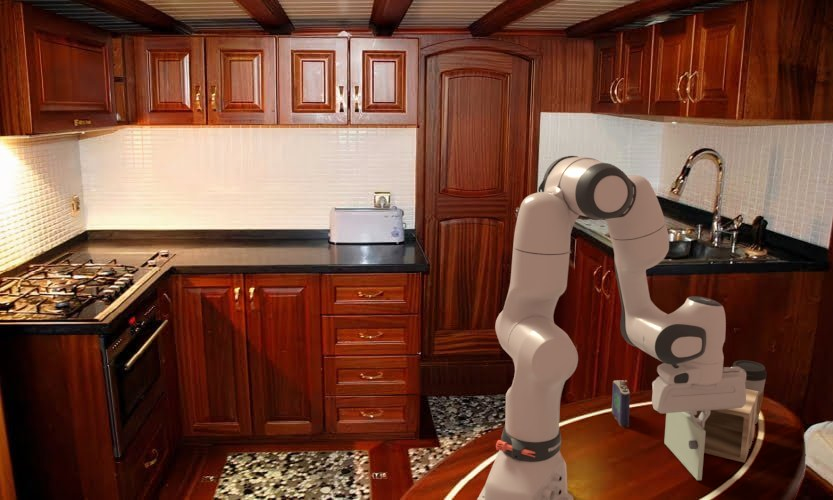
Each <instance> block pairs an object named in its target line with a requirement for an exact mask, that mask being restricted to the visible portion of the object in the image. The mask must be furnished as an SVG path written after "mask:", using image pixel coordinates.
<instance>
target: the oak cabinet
mask: <svg viewBox="0 0 833 500" xmlns="http://www.w3.org/2000/svg"><path fill="white" fill-rule="evenodd" d="M758 393H759V391H754V390H749V389H746V404H745V405H744V406H743V407H742V408H733V409H719V410H711V412H710V415H709V417H708V418H707V419H706V421H705V426H704V428H703V429H704V430H705V431H706V434H705V446H704V454H708V455H712V456H717V457H720V458H724V459H729V460H732V461H736V462H740V463H746V460H747V457H748V455H749V451H750V450H749V449H751V447H752V444H753V442H752V441H754V438H755V433H756V425H755V423H756V413H757V403H758ZM701 412H702V411H697V415H694V416H695V418H698V417H699V415H700V414H701ZM686 413H687V412H686ZM687 414H688V413H687ZM756 424H757V423H756Z"/></svg>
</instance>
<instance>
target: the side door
mask: <svg viewBox="0 0 833 500" xmlns="http://www.w3.org/2000/svg"><path fill="white" fill-rule="evenodd" d="M664 426H665V428H664V441H663V442H664V445H666V447H667V448H668V449H669V450H670V452H672V454H673V455H674V456H675V457H676V459H678V461H679V462H681V464H682V465H683V466H684V467H685V468H686V470H687V471H688V472H689V473H690V474H691V475H692V476H693V477H694V478H695V480H696V481H702V480H703V467H704V458H705V457H704V454H705V453H704V446H705V434H706V431H705V430H704V429H703V428H702V427H701V426H700V425H699V424H698V423H697V422H696V421H695V420H694V419H693V418H691V417H690V416H689V415H688V414H687V413H686V412H676V413H665V425H664Z"/></svg>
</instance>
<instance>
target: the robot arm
mask: <svg viewBox="0 0 833 500" xmlns="http://www.w3.org/2000/svg"><path fill="white" fill-rule="evenodd" d="M580 216H581V217H582V216H583V217H587V218H590V219H592V220H600V221H601V220H602V221H603V220H604V221H605V222H606V224H607V229H608V232H609V237H610V241H611V244H612V245H611V246H612V248H613V254H614V256H613V263H614V271H615V278H616V281H617V282H616V283H617V288H618V292H619V293H618V294H619V298H620V303H621V305H620V306H621V314H620V315H621V316H620V324H619V327H620V332H621V336H622V338H623V339H624V341H626V343H628V345H631V346H633V347H635V348H637V349H639V350H641V351H643V352H644V353H646V354H647V355H649V356H651V357H653V358H655V359H657V360H658V361H660V362H662V363H661V364H658V366H657V367H656V372H657V373H658V375H659V376H657V377H656V379H654V381H655V382H654V387H653V386H652V394H651V395H652V396H651V404H652V407H653V406H654V408H655V409H656V410H657V413H659V414H666V413H676V412H687V413H688V415H689V416H690V417H691V418H693V419H694V420H695V421H696V422H697V423H698V424H699V425H700V426H701V427H702V428H704V426H705V421H706V419H707V418H708V417H709V415H710V412H711V410H719V409H733V408H742V407H743V406H744V405H745V404H746V388H745V382H746V372H745V370H744V369H742V368H740V367H732V366H730V367H729V366H726V367H725V366H724V359H725V357H724V352H723V347H724V343H725V342H726V330H727V329H726V327H727V325H726V324H727V322H726V321H727V320H726V318H727V317H726V312H725V308H724V306H723V305H722V304H721V303H720V302H718V301H716V300H714V299H711V298H708V297H704V296H698V295H695V296H693V295H692V296H688V297H687V298H686V300H685V302H684V303H683V304H682V305H681V306H680V307H678V308H677V309H676V310H675V311H673V312H671V313H666V312H664V311H663V310H661V309H660V308H659V307H657V306H656V305H655V304H654V302H653V301H652V300H651V297H650V291H649V284H648V278H647V270H648V269H651V268H653V267H655V266H657V265H659V264H660V263H661V262H662V261H663V260H664V259H665V258H666V256H667V254H668V252H669V251H670V238H669V237H670V235H669V232H668V228H667V223H666V219H665V216H664V213H663V210H662V207H661V204H660V202H659V199H658V197H657V194H656V192H655V191H654V189H653V186H652V185H651V183H650V182H649V180H648V179H647V178H646V177H643V176H641V175H636V174H626V173H625V172H624V171H623V170H622V169H620V168H619V167H617V166H615V165H613V164H611V163H606V162H603V161H599V160H598V159H596V158H592V157H586V156H577V155H568V156H562V157H560V158H558V159H556V160H555V161H552V163H551V164H550V165H549V167H548V168H547V169H546V171H545V173H544V175H543V179H542V181H541V183H540V184H539V186H538V192H535V193H531V194H529V195H528V196H526V197H525V198H524V199H523V200H522V202H521V203H520V206H519V210H518V214H517V219H516V223H515V228H514V236H513V243H512V244H513V246H512V257H511V258H512V259H511V269H510V270H511V271H510V272H511V273H510V279H509V280H510V281H509V282H510V283H509V287H508V292H507V295H506V298H505V301H504V306H503V309H502V311H501V312H500V313H498V316H497V318H496V320H495V327H494V329H495V333H496V336H497V339H498V343H499V345H500V347H501V348H502V350H504V351H505V352H506V354H508V355H509V357H510V358H511V359H512V362H513V364H514V365H513V366H514V375H513V376H514V377H513V379H512V384H511V386H510V387H509V388H508V390H507V392H506V393H505V416H504V417H505V424H504V427H503V430H502V434H501V436H500V437H501V438H500V439H498V440H497V441H496V444H495V449H496V451H498V453H497V454H496V457H495V459H494V462H493V464H492V466H491V469H490V471H489V474H488V476H487V479H486V482H485V484H484V486H483V488H482V489H481V492H480V493H479V496H478V497H477V498H476V500H574V496H573V495H572V494H571V493H570V492H568V472H567V470H568V469H567V468H568V467H567V463H566V460H565V459H564V457H563V455H562V453H561V451H560V450H561V446H562V445H561V443H562V436H561V434H562V433H561V429H560V409H561V398H562V393H563V389H564V387H565V386H564V385H565V383H566V381H567V380H568V379H569V378H570V377H572V375H573V374H574V373H575V371H576V369H577V367H578V362H579V355H578V351H577V348H576V346H575V345H574V343H573V341H572V339H571V338H570V336H569V335H568V333H566V331H564V330H563V329H562V328H560V327H559V326H558V325H557V324H556V323H555V321H554V314H555V309H556V307H557V303H558V301H559V298H560V297H561V296H562V295H563V294H564V293H565V291H566V290H567V287H568V277H569V276H568V275H569V265H570V264H569V263H570V256H571V254H570V253H571V234H572V232H573V231H572V230H573V228H574V225H575V223H576V222H577V220H578V218H579V217H580ZM741 370H742V371H741ZM654 408H653V409H654ZM655 409H654V410H655ZM656 410H655V411H656ZM697 411H702V412H701V414H700V415H699V417H698V418H695V416H694V415H697Z"/></svg>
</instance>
